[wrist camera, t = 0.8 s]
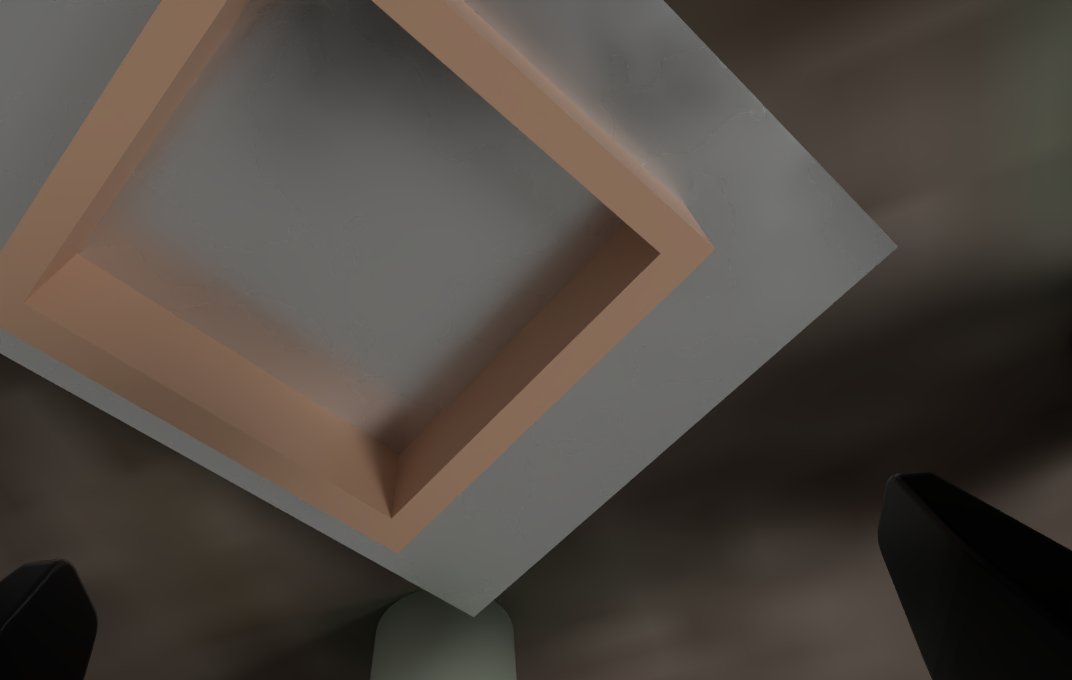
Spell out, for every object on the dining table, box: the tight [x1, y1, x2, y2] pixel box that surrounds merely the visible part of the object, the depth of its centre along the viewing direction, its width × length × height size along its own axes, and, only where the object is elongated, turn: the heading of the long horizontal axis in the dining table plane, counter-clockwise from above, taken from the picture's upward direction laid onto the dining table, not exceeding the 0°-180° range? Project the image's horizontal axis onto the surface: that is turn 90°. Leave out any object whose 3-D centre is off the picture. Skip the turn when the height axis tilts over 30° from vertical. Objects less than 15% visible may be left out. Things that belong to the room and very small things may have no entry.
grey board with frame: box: [0, 0, 898, 617], centre depth 18 cm, size 20×16×6 cm
